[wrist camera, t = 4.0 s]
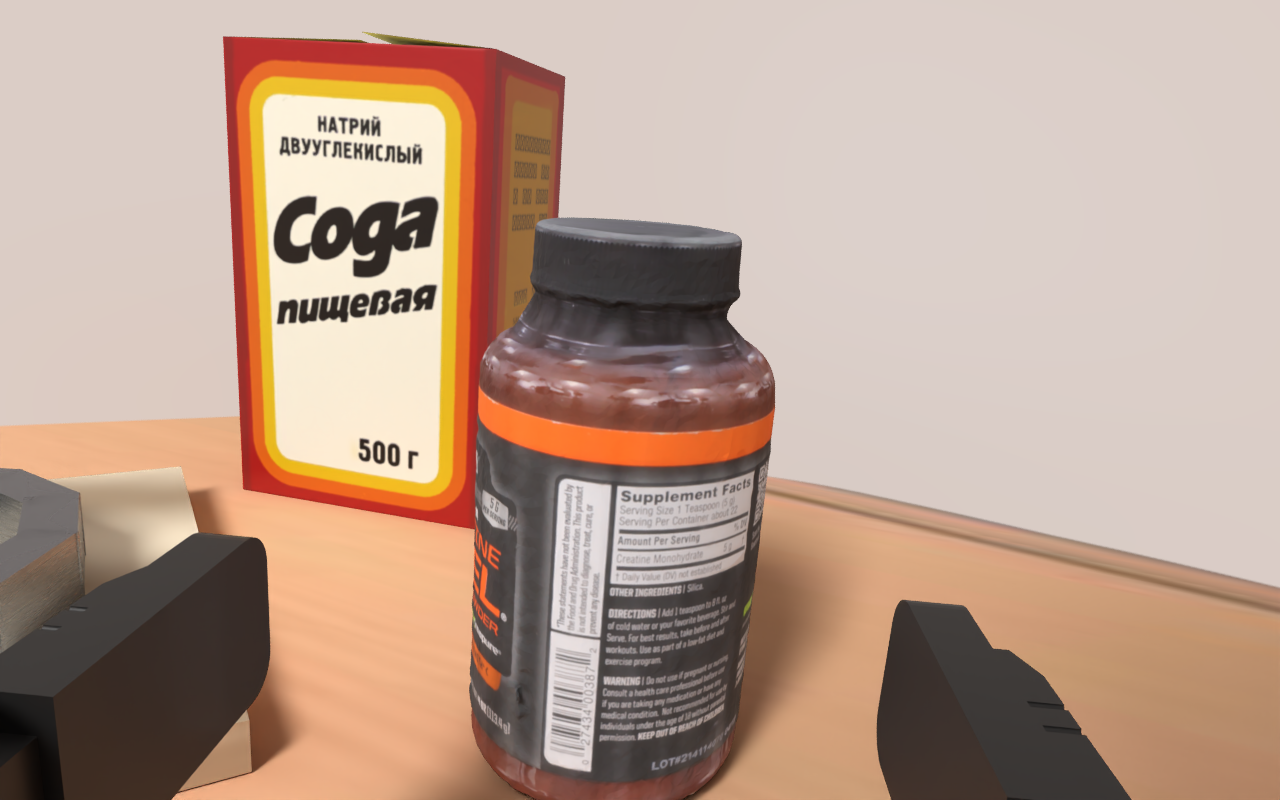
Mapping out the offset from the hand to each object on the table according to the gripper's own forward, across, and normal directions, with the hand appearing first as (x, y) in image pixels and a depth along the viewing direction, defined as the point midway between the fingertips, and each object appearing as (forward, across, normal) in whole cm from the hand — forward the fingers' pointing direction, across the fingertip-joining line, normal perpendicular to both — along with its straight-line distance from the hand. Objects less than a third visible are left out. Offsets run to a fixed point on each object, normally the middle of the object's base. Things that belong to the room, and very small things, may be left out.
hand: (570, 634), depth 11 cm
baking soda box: (+22, +9, +7) cm, 25 cm away
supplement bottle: (+7, 0, +7) cm, 10 cm away
